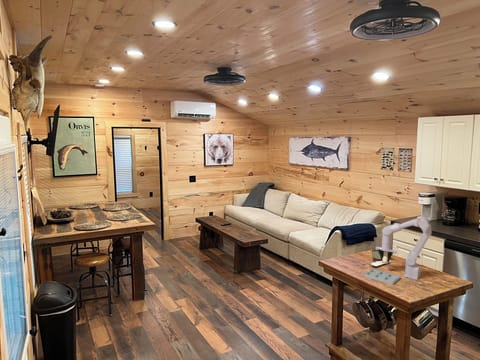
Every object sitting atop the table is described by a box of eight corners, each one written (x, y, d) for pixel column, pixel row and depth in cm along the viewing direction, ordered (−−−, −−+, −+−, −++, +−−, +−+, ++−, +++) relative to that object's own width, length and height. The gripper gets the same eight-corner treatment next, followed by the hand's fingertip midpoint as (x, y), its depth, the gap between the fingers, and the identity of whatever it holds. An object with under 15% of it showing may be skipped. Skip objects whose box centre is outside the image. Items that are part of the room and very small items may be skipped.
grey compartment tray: (400, 278, 249) (400, 276, 249) (392, 284, 239) (392, 282, 239) (372, 271, 263) (372, 268, 262) (364, 276, 253) (364, 274, 252)
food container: (384, 259, 287) (385, 247, 286) (387, 261, 281) (387, 249, 280) (369, 258, 288) (369, 247, 287) (371, 261, 282) (371, 249, 281)
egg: (389, 262, 261) (389, 256, 260) (386, 264, 258) (387, 257, 257) (383, 261, 263) (383, 254, 263) (381, 262, 260) (381, 256, 260)
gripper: (398, 243, 256) (397, 261, 258) (378, 239, 266) (377, 257, 268) (394, 246, 251) (393, 264, 253) (374, 241, 261) (373, 259, 263)
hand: (385, 260), depth 260 cm, fingers closed on egg, 4 cm apart
